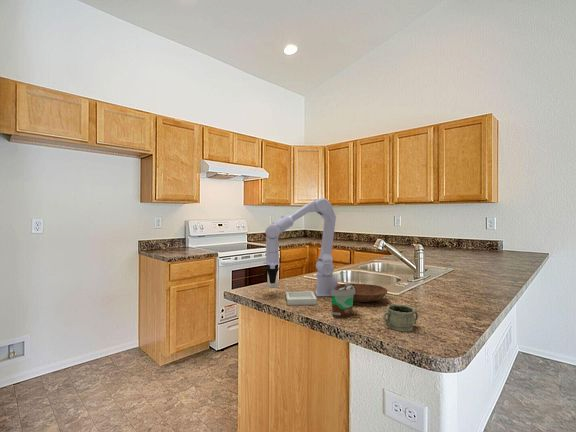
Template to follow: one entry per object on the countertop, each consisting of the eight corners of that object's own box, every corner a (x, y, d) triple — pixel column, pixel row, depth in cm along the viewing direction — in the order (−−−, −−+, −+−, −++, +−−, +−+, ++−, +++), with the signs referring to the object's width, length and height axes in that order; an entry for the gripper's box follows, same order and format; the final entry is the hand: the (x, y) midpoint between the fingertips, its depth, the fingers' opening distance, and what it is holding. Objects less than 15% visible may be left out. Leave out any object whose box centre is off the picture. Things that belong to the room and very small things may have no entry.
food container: (346, 321, 105) (346, 292, 105) (330, 317, 109) (330, 289, 109) (360, 311, 115) (360, 285, 115) (346, 308, 119) (346, 283, 119)
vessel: (411, 321, 105) (411, 303, 105) (425, 331, 96) (425, 311, 96) (377, 323, 103) (377, 304, 103) (389, 333, 95) (389, 313, 95)
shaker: (277, 285, 139) (277, 270, 139) (277, 288, 134) (277, 272, 134) (267, 285, 138) (267, 270, 138) (267, 288, 134) (267, 272, 134)
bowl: (390, 308, 119) (390, 296, 119) (333, 305, 123) (333, 293, 123) (384, 295, 138) (384, 284, 138) (336, 292, 142) (336, 282, 142)
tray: (312, 296, 135) (312, 291, 135) (316, 305, 123) (316, 298, 123) (285, 297, 135) (285, 291, 135) (287, 305, 123) (287, 299, 123)
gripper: (263, 249, 143) (263, 278, 143) (263, 254, 129) (263, 286, 129) (278, 249, 144) (278, 278, 144) (279, 253, 129) (279, 285, 129)
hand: (272, 282), depth 136 cm, fingers closed on shaker, 4 cm apart
